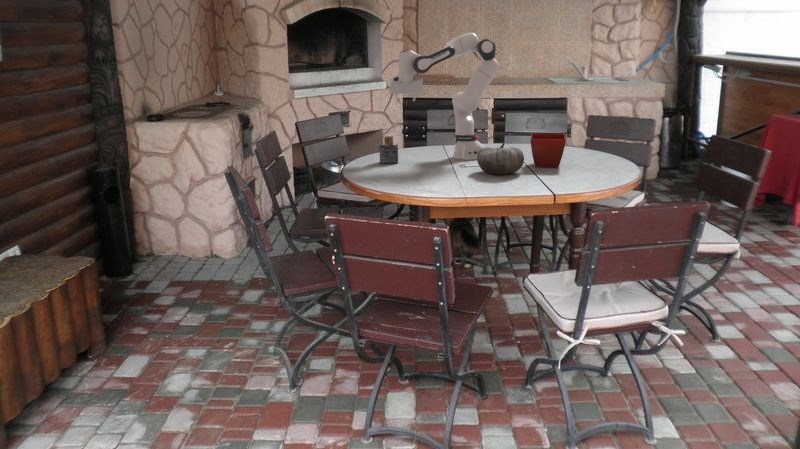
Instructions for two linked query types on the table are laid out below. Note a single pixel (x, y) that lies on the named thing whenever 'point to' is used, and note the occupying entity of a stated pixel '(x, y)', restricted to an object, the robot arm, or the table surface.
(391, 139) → the walnut cube
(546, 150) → the plant pot
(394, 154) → the small box
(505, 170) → the gourd
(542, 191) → the table surface
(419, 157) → the table surface
